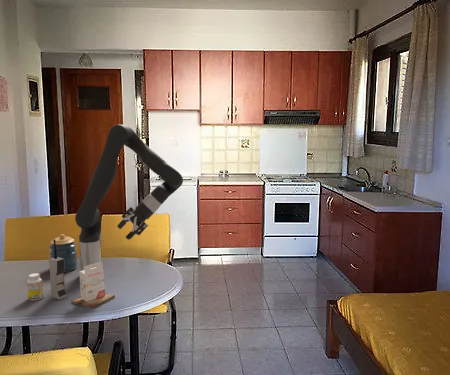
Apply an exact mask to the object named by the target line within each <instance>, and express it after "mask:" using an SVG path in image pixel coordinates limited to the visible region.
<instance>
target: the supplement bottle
mask: <svg viewBox="0 0 450 375" xmlns="http://www.w3.org/2000/svg"><path fill="white" fill-rule="evenodd" d="M26 282H27V283H26V284H27V296H28V300H29V301H33V302H34V301H39V300H41V299H43V298H44V290H43V280H42V278H41V277H40V273H37V272H36V273H31V274H29V275H28V279H27V281H26Z"/></svg>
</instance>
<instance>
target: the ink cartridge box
mask: <svg viewBox="0 0 450 375" xmlns="http://www.w3.org/2000/svg"><path fill="white" fill-rule="evenodd" d="M93 266H97V267H94V268H91V267H93ZM104 271H105V270H104V265H103V261H101V262H99V263H95V264H91V265H88V266H84V270H83V271H78V272H79V288H80V289H79V290H80V296H81V299H83V300H85V301H90V300H93V299H96V298H99V297H103V296H105V293H106V287H105V274H104V273H105V272H104Z"/></svg>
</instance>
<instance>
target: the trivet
mask: <svg viewBox="0 0 450 375" xmlns="http://www.w3.org/2000/svg"><path fill="white" fill-rule="evenodd" d="M115 296H116V295H115V294H112V293H107V292H105V296H103V297H99V298H96V299H93V300H90V301H85V300H83V299H81V295H80V296H78V297H76V298H74V299H72V300H71V304H75V305H78V306H79V305H80V306H83V307H87V308H92V309H95V308H97V307H100V306H101V305H104V304H105V303H107V302H108V301H110V300H113V299H114V298H115Z"/></svg>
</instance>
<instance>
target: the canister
mask: <svg viewBox="0 0 450 375" xmlns="http://www.w3.org/2000/svg"><path fill="white" fill-rule="evenodd" d="M54 239H55V242H56V252H57V257H59V258H64V273H66V272H71V271H73V270H76V269H77V268H78V266H79V261H78V255H77V252H78V251H77V248H76V246H77V245H78V244H77V243H76V242H75V239H74V238H72V237H71V236H66V235H65V234H64V233H61V234H60V235H59V236H58V237H54V238H53V239H52V240H51V241H50V242H49V243H50V245H48V249H49V259H52V258H54V257H55V255H54Z"/></svg>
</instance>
